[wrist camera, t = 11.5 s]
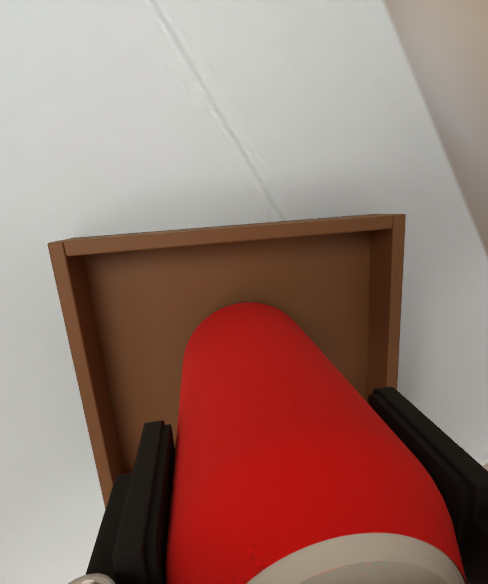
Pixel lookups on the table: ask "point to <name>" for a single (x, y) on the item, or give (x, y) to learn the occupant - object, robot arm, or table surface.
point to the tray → (212, 296)
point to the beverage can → (293, 469)
